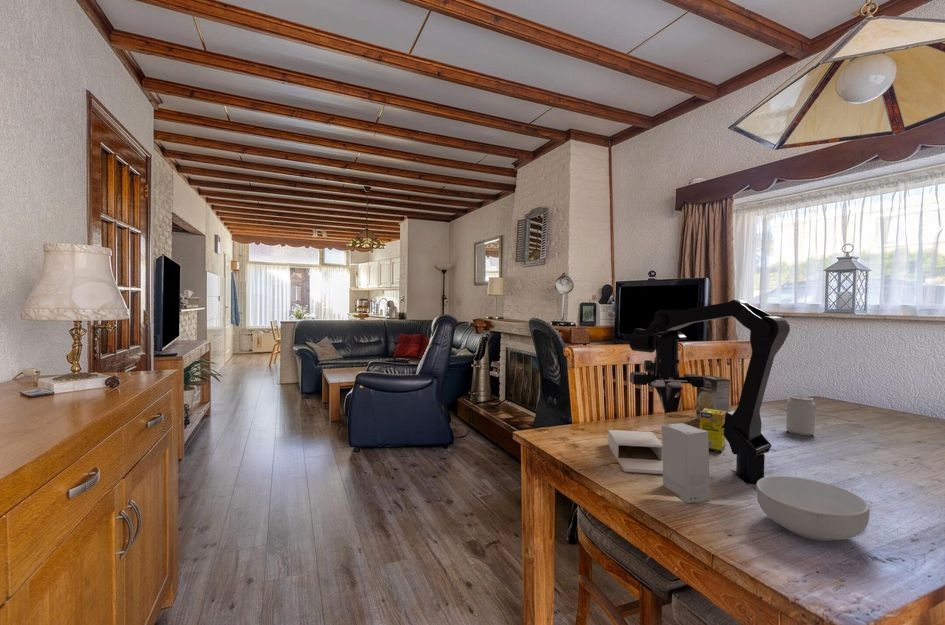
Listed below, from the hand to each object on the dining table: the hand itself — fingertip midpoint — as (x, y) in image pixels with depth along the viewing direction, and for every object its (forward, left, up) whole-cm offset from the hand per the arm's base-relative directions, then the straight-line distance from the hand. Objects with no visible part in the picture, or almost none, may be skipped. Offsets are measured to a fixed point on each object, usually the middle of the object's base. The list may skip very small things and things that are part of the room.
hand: (665, 410), depth 123 cm
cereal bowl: (-40, -14, -12) cm, 44 cm away
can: (+28, -51, -12) cm, 60 cm away
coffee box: (+37, -27, -12) cm, 47 cm away
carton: (-4, +9, -12) cm, 16 cm away
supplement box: (+6, -15, -12) cm, 20 cm away
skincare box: (-28, +4, -12) cm, 31 cm away
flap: (-11, +9, -11) cm, 18 cm away
